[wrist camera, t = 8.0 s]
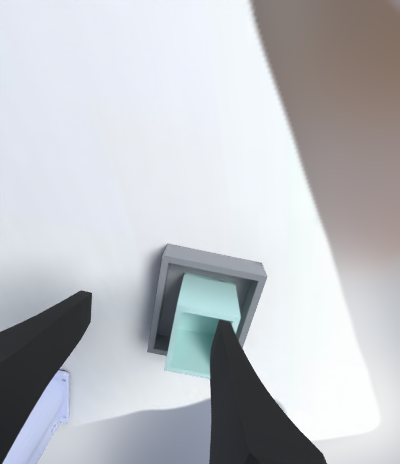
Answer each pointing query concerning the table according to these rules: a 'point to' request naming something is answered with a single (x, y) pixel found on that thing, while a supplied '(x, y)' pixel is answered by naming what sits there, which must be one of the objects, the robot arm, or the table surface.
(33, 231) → the table surface
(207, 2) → the table surface
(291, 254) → the table surface
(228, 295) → the small crate
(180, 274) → the gray tray
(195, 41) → the table surface
